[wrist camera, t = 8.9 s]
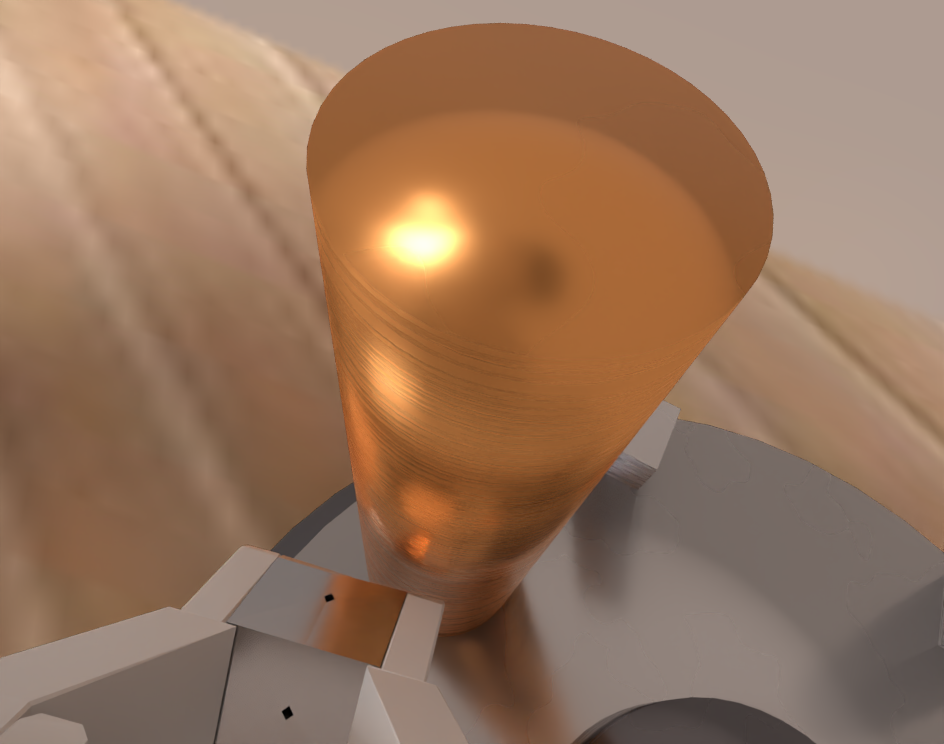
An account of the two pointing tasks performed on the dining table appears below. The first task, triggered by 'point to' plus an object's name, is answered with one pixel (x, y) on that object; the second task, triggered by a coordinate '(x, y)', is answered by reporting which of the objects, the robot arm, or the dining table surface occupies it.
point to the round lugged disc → (589, 413)
